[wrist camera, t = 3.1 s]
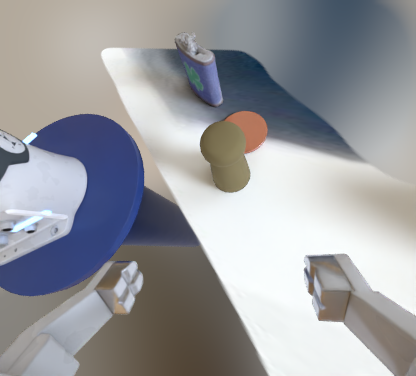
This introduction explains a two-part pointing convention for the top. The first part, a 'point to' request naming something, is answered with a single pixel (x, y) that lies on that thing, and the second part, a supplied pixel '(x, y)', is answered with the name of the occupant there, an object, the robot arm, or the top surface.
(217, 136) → the cork
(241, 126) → the coaster
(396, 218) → the top surface
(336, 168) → the top surface
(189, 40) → the flask
